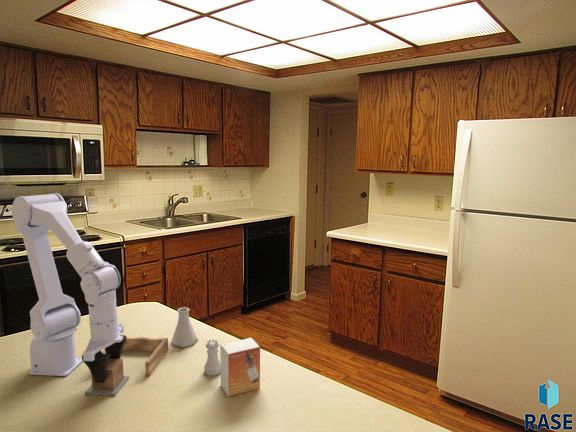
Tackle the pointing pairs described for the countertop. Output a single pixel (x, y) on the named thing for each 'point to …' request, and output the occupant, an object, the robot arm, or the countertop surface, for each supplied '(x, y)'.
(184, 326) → the flask
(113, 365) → the walnut block
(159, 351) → the oak bracket
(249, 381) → the small box
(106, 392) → the slate coaster
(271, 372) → the countertop surface
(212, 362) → the rook chess piece
